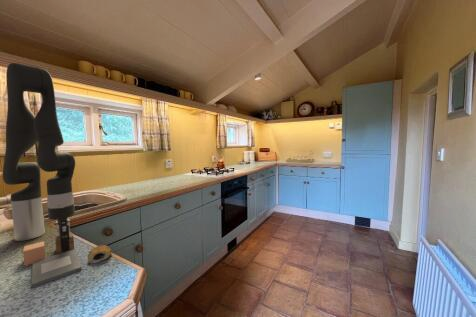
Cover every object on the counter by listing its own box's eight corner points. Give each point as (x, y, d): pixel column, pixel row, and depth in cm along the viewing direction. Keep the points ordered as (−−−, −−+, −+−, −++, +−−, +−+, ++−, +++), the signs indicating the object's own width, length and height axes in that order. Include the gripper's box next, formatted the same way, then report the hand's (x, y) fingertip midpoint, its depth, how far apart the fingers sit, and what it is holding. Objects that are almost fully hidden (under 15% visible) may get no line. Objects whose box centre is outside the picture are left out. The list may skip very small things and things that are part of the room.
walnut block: (56, 249, 76) (54, 236, 76) (72, 244, 80) (71, 232, 80) (56, 253, 73) (55, 240, 72) (74, 248, 76) (73, 236, 76)
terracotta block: (25, 260, 69) (24, 246, 69) (45, 254, 73) (44, 241, 73) (24, 265, 66) (23, 251, 65) (45, 259, 69) (44, 245, 69)
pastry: (89, 253, 73) (89, 243, 73) (111, 248, 76) (110, 238, 76) (87, 266, 65) (86, 254, 65) (111, 259, 69) (110, 248, 68)
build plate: (33, 264, 66) (32, 261, 66) (75, 251, 74) (75, 248, 74) (31, 288, 55) (31, 284, 55) (81, 269, 63) (81, 266, 62)
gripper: (47, 203, 78) (51, 245, 79) (48, 211, 68) (52, 259, 69) (72, 199, 83) (75, 238, 84) (76, 205, 73) (79, 250, 74)
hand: (65, 247), depth 76 cm, fingers closed on walnut block, 5 cm apart
